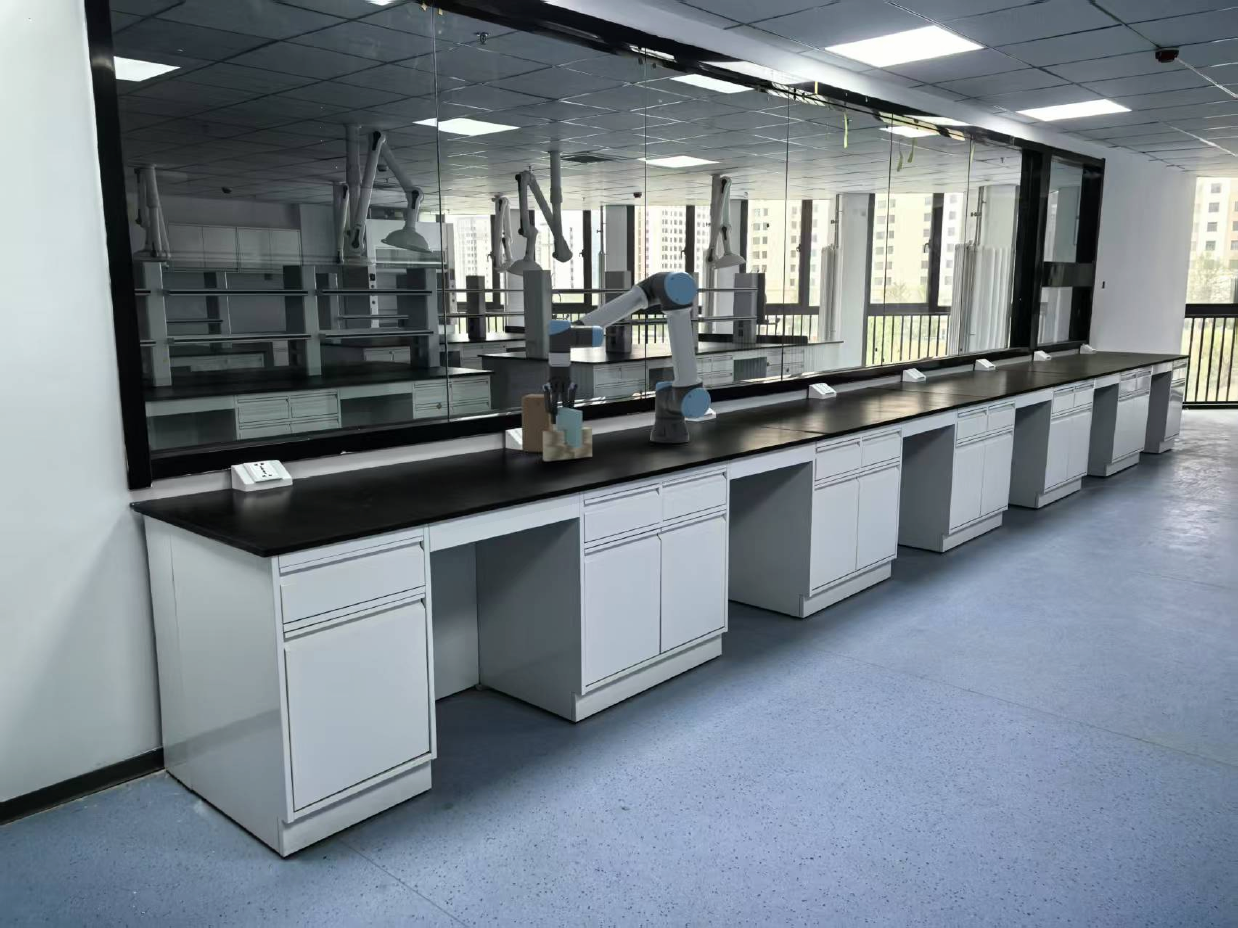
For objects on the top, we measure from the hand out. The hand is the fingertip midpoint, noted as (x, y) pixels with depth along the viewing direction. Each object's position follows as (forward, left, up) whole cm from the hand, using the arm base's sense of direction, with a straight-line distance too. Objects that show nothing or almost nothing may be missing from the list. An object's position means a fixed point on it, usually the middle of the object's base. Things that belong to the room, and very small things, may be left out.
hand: (559, 433), depth 309 cm
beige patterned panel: (-2, +5, -8) cm, 10 cm away
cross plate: (-1, +5, -3) cm, 6 cm away
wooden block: (+4, -14, -8) cm, 17 cm away
